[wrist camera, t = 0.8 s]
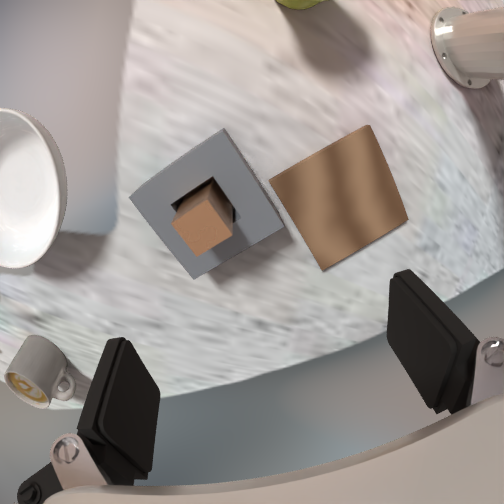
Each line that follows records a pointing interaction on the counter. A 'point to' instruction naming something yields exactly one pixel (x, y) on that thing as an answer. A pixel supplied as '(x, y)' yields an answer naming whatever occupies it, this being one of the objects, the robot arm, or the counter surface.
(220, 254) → the socket block
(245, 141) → the counter surface
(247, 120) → the counter surface
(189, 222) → the copper peg
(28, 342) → the coffee mug
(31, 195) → the serving bowl
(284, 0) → the plant pot
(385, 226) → the walnut mat
